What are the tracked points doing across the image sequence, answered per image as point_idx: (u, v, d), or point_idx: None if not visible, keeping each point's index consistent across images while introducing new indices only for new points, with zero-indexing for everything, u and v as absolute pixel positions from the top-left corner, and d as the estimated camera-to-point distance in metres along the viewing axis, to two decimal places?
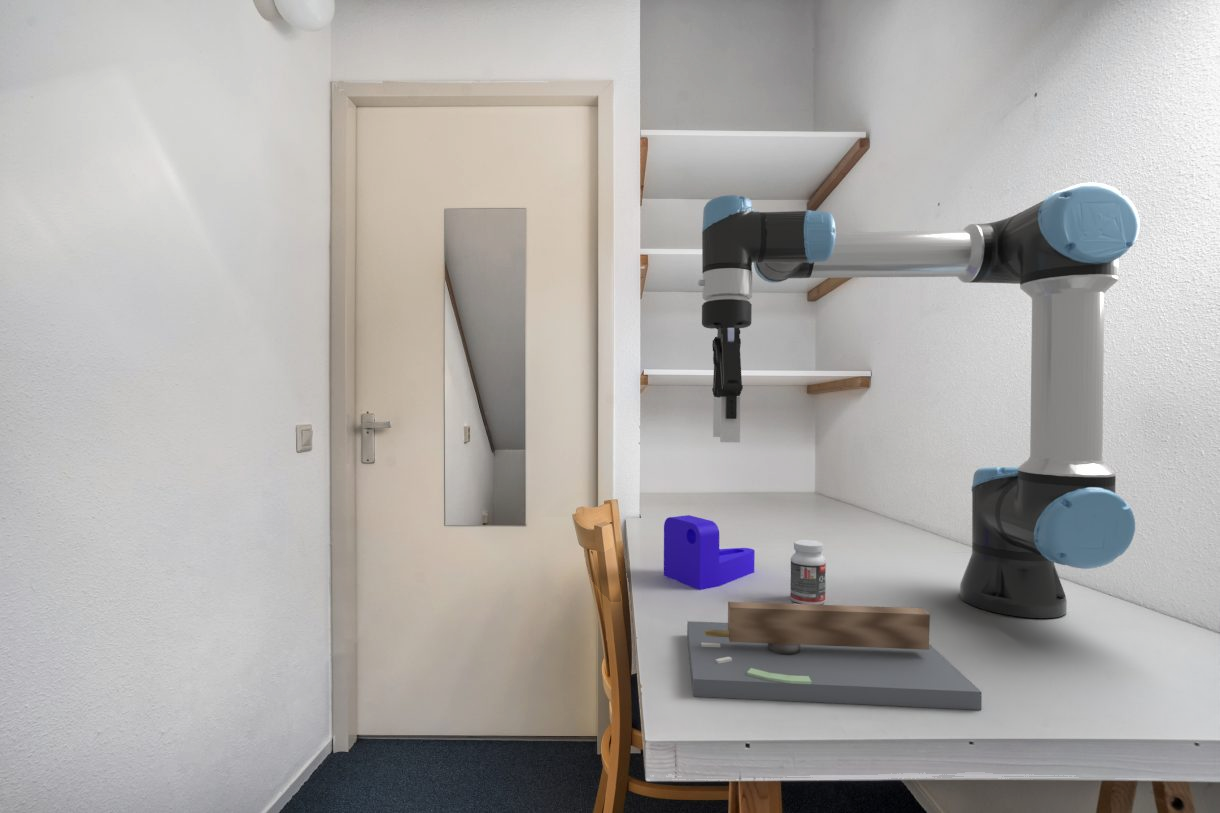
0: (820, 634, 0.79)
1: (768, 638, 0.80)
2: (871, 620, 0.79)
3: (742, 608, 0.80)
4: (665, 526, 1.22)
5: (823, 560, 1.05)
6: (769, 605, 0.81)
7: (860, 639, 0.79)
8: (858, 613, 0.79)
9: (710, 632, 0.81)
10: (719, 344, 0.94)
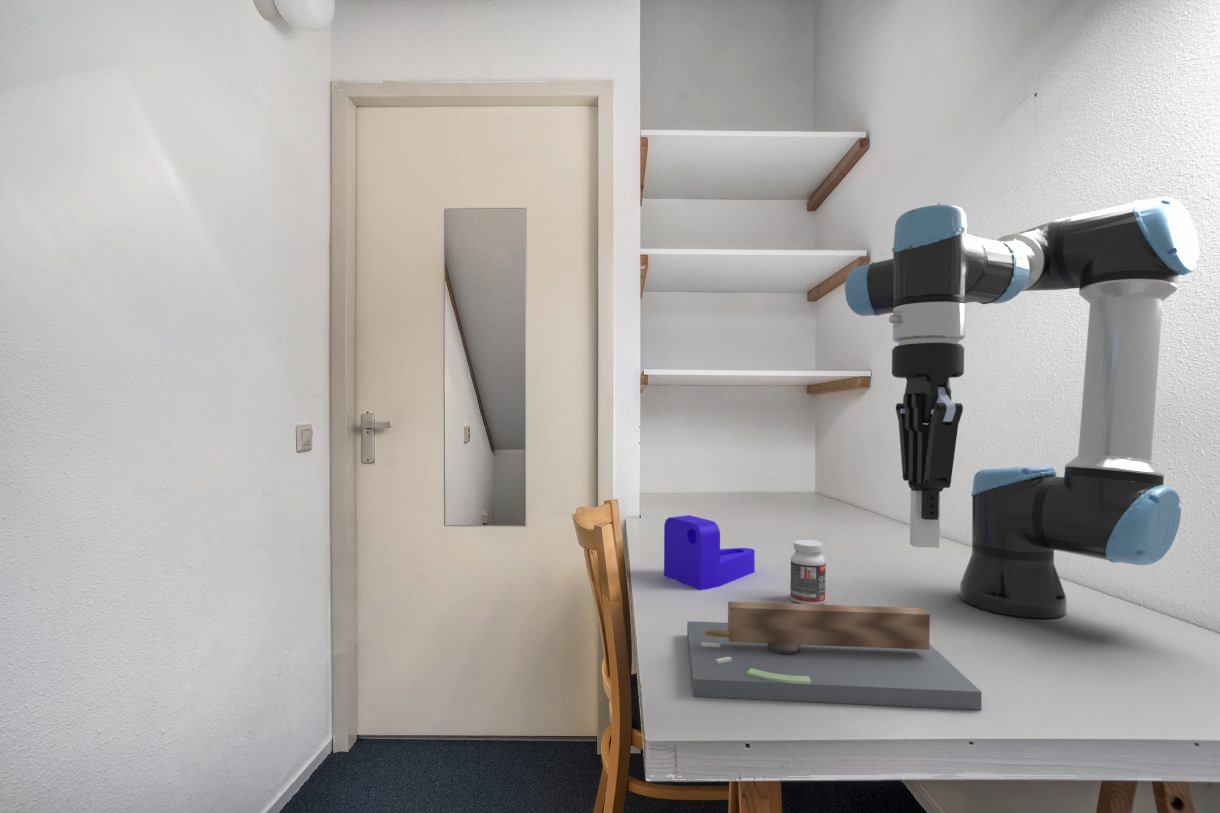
0: (820, 634, 0.79)
1: (768, 638, 0.80)
2: (871, 620, 0.79)
3: (742, 608, 0.80)
4: (665, 526, 1.21)
5: (823, 560, 1.05)
6: (769, 605, 0.81)
7: (860, 639, 0.79)
8: (858, 613, 0.79)
9: (710, 632, 0.81)
10: (922, 408, 0.71)
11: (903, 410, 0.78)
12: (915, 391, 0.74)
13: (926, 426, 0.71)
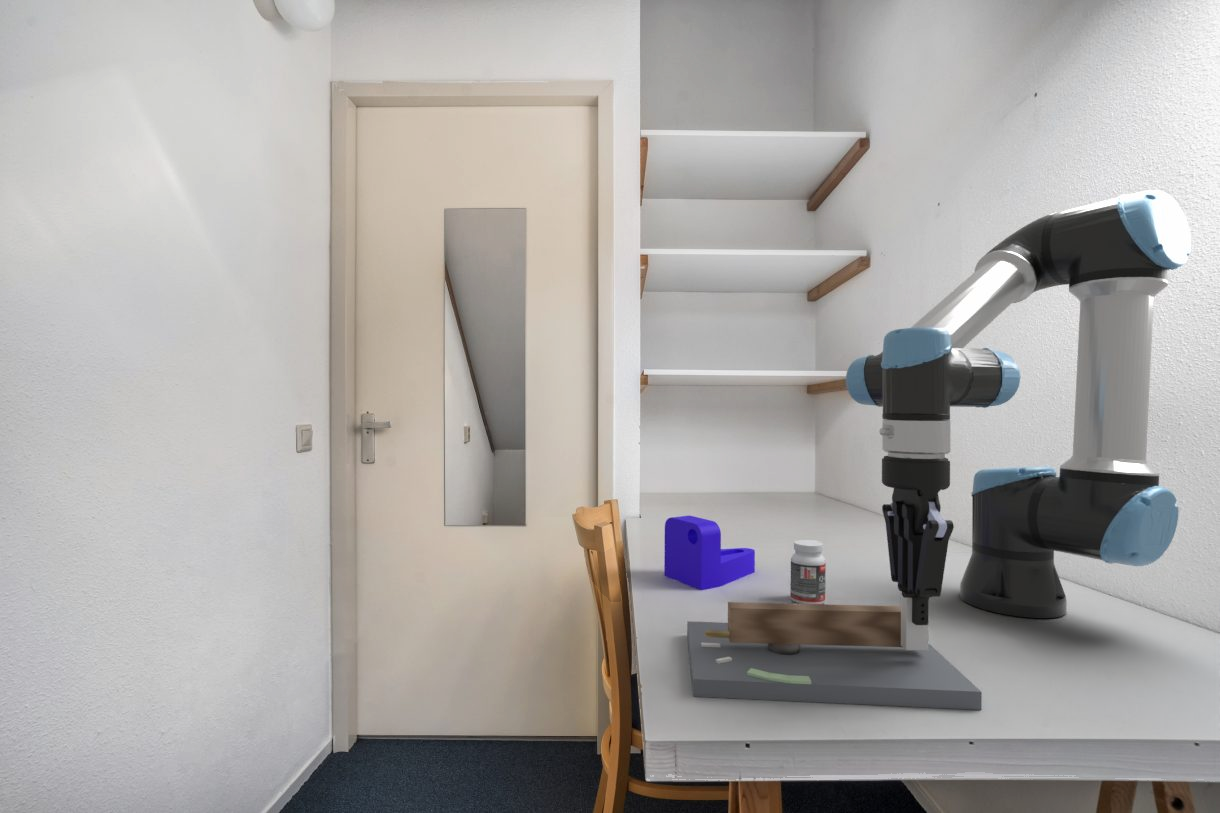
0: (820, 634, 0.79)
1: (768, 638, 0.80)
2: (870, 619, 0.79)
3: (742, 608, 0.80)
4: (666, 526, 1.21)
5: (823, 560, 1.05)
6: (769, 605, 0.81)
7: (860, 638, 0.79)
8: (858, 612, 0.79)
9: (710, 633, 0.81)
10: (912, 519, 0.75)
11: (890, 513, 0.81)
12: (904, 500, 0.77)
13: (916, 536, 0.75)
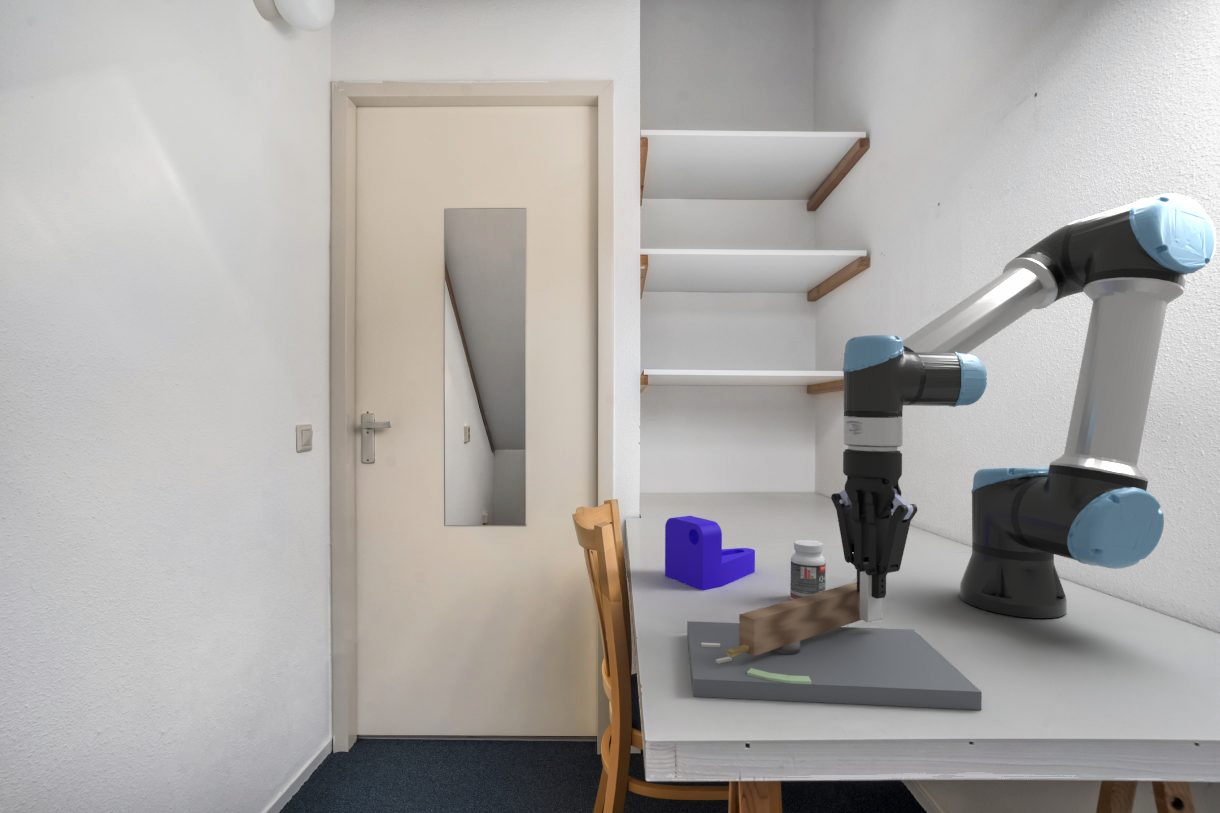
0: (812, 626, 0.82)
1: (780, 642, 0.79)
2: (841, 601, 0.86)
3: (762, 617, 0.77)
4: (666, 527, 1.21)
5: (823, 560, 1.05)
6: (773, 608, 0.80)
7: (835, 621, 0.85)
8: (834, 598, 0.85)
9: (735, 651, 0.75)
10: (876, 505, 0.84)
11: (843, 501, 0.90)
12: (863, 488, 0.87)
13: (878, 520, 0.85)
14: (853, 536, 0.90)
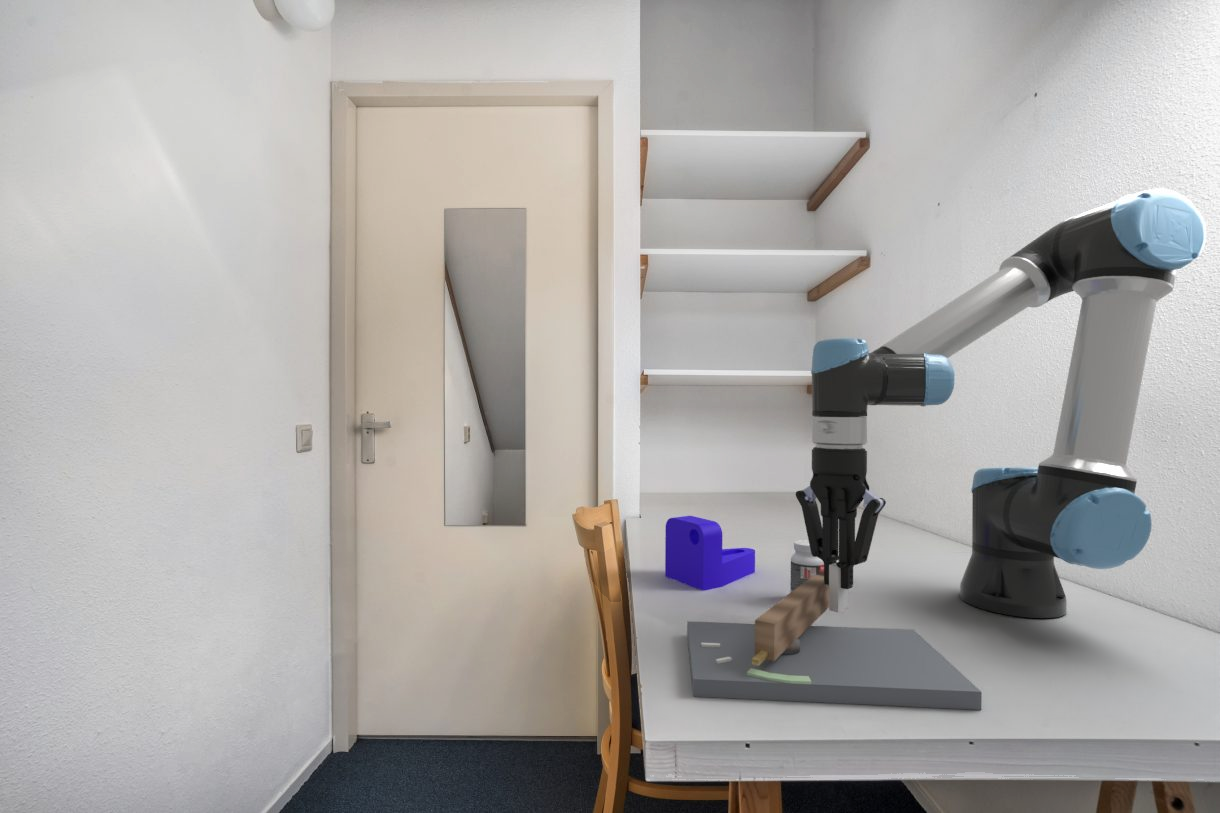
0: (803, 622, 0.84)
1: (787, 642, 0.78)
2: (817, 595, 0.89)
3: (778, 620, 0.76)
4: (667, 527, 1.21)
5: None
6: (778, 609, 0.79)
7: (814, 615, 0.88)
8: (813, 592, 0.88)
9: (760, 659, 0.73)
10: (847, 500, 0.89)
11: (808, 497, 0.93)
12: (832, 485, 0.91)
13: (848, 514, 0.89)
14: (818, 531, 0.93)
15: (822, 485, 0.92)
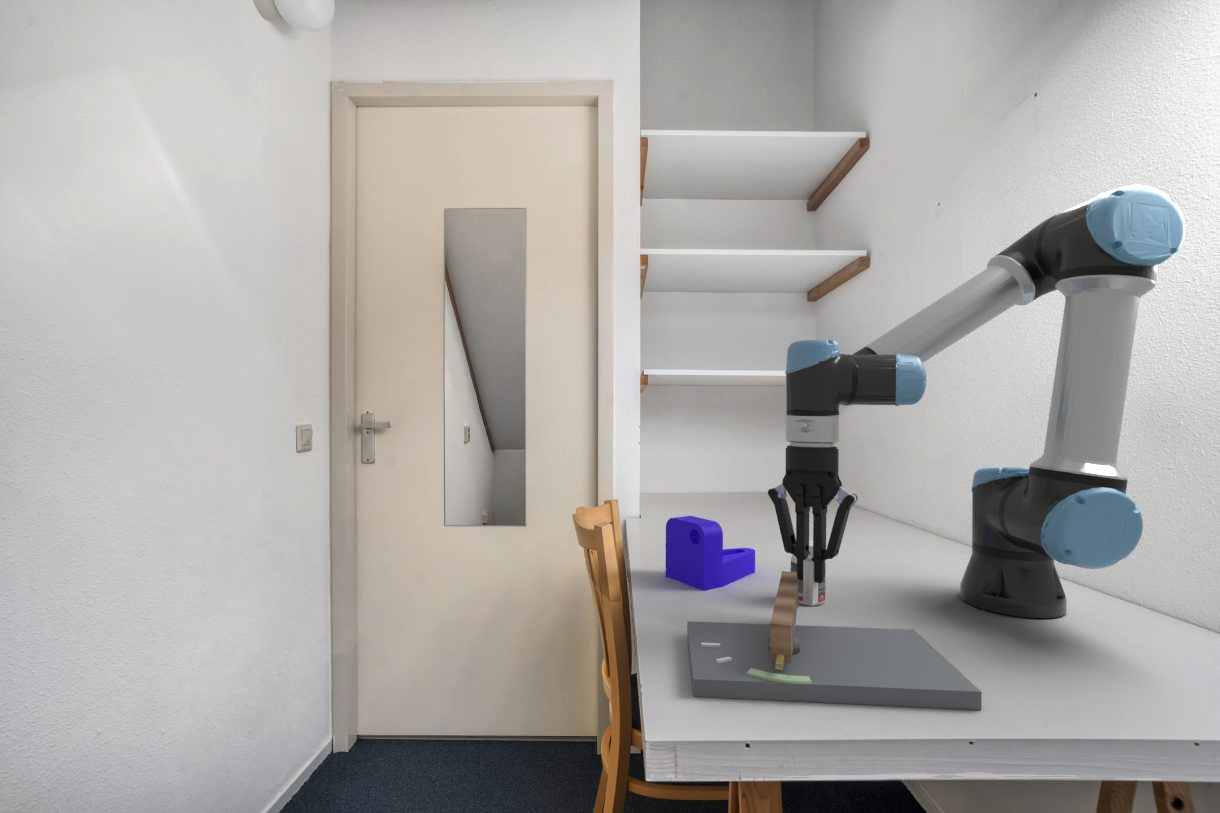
0: None
1: None
2: (796, 591, 0.90)
3: (792, 621, 0.75)
4: (667, 527, 1.21)
5: None
6: (782, 610, 0.79)
7: None
8: (796, 589, 0.89)
9: (783, 663, 0.72)
10: (822, 497, 0.91)
11: (781, 495, 0.95)
12: (806, 482, 0.93)
13: (822, 510, 0.92)
14: (790, 527, 0.95)
15: (796, 483, 0.94)
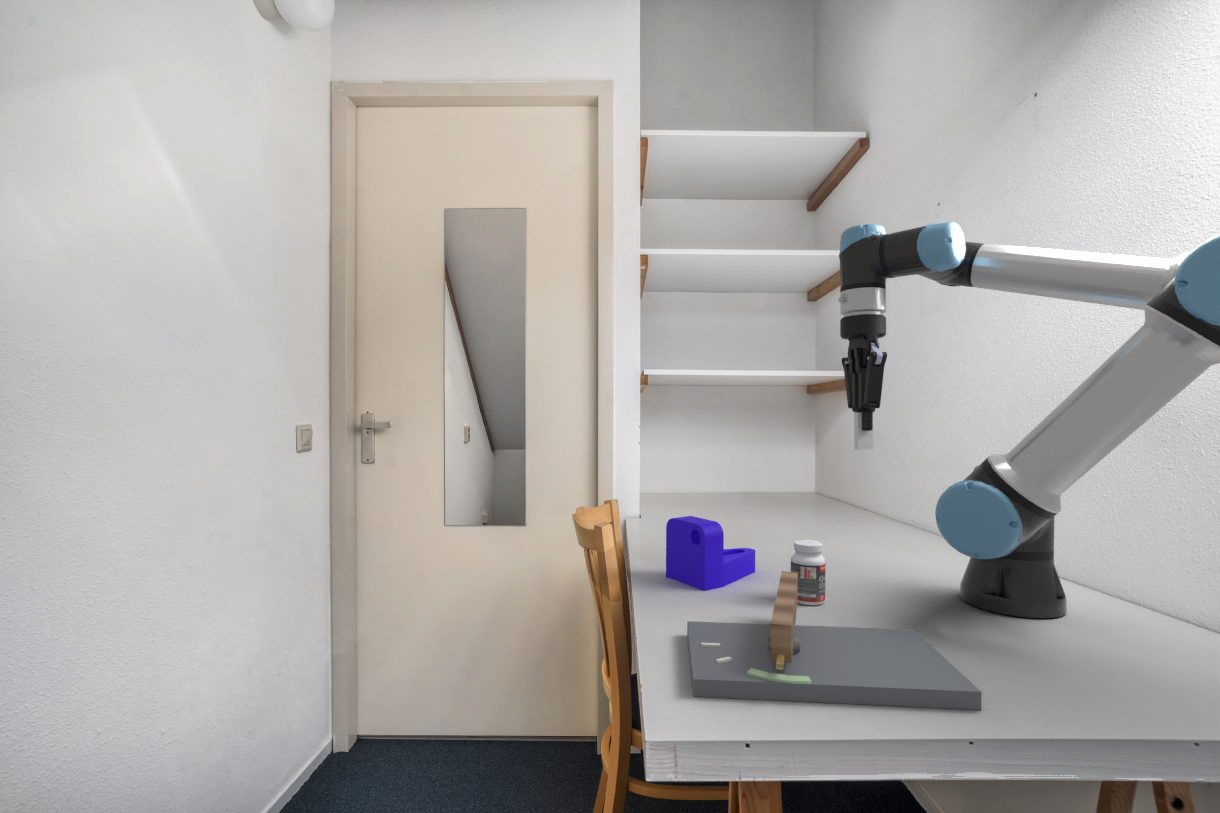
0: None
1: None
2: None
3: (792, 621, 0.75)
4: (667, 527, 1.21)
5: (823, 560, 1.05)
6: (782, 610, 0.79)
7: None
8: (796, 589, 0.89)
9: (783, 663, 0.72)
10: (861, 357, 1.09)
11: (847, 361, 1.15)
12: (855, 347, 1.11)
13: (863, 369, 1.09)
14: None
15: (852, 349, 1.13)
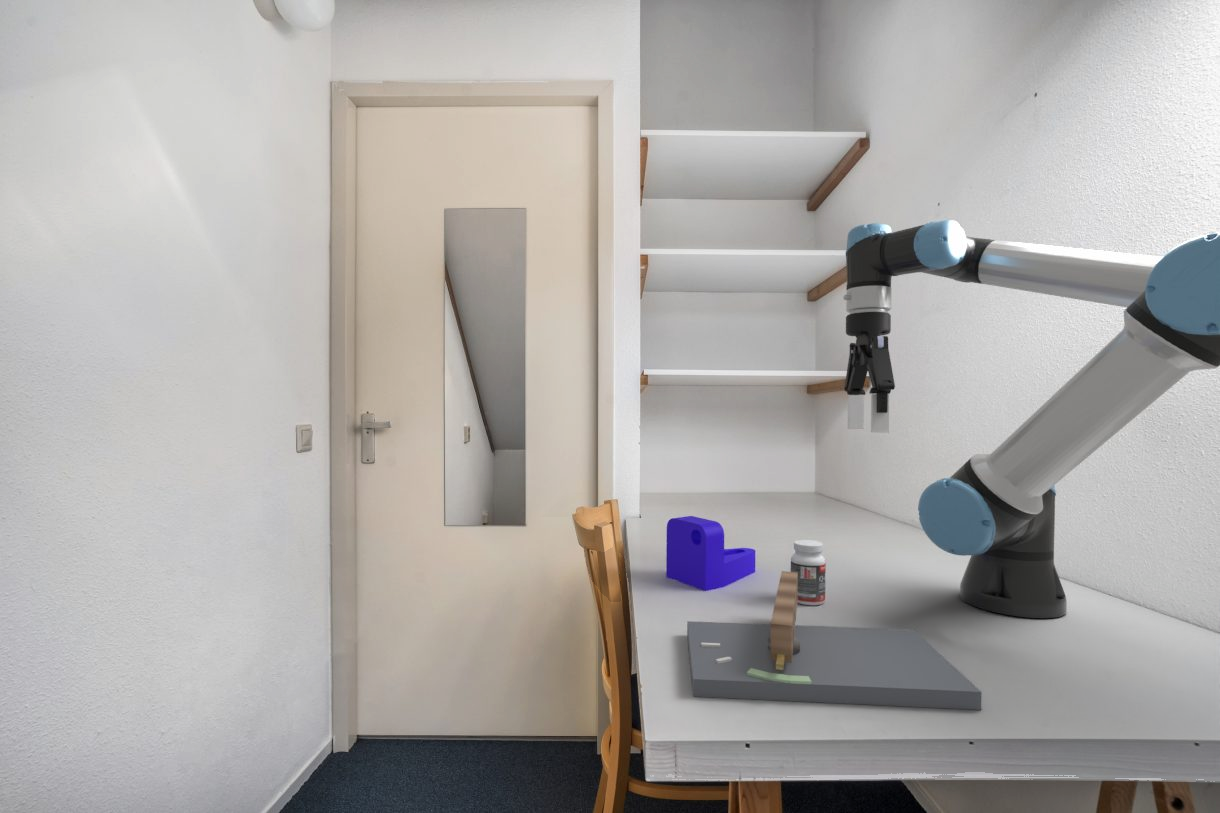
0: None
1: None
2: None
3: (792, 621, 0.75)
4: (668, 527, 1.21)
5: (823, 560, 1.05)
6: (782, 610, 0.79)
7: None
8: (796, 589, 0.89)
9: (783, 663, 0.72)
10: (865, 350, 1.11)
11: (853, 352, 1.19)
12: (860, 344, 1.14)
13: (870, 358, 1.10)
14: None
15: None
